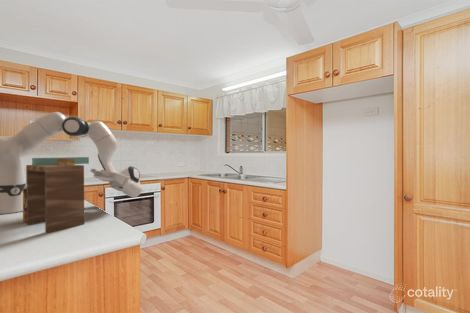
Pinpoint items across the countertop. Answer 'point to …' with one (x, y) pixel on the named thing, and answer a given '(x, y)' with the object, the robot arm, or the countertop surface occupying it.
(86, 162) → the teal block
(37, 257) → the countertop surface
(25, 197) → the candy box
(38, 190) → the wooden cabinet unit
